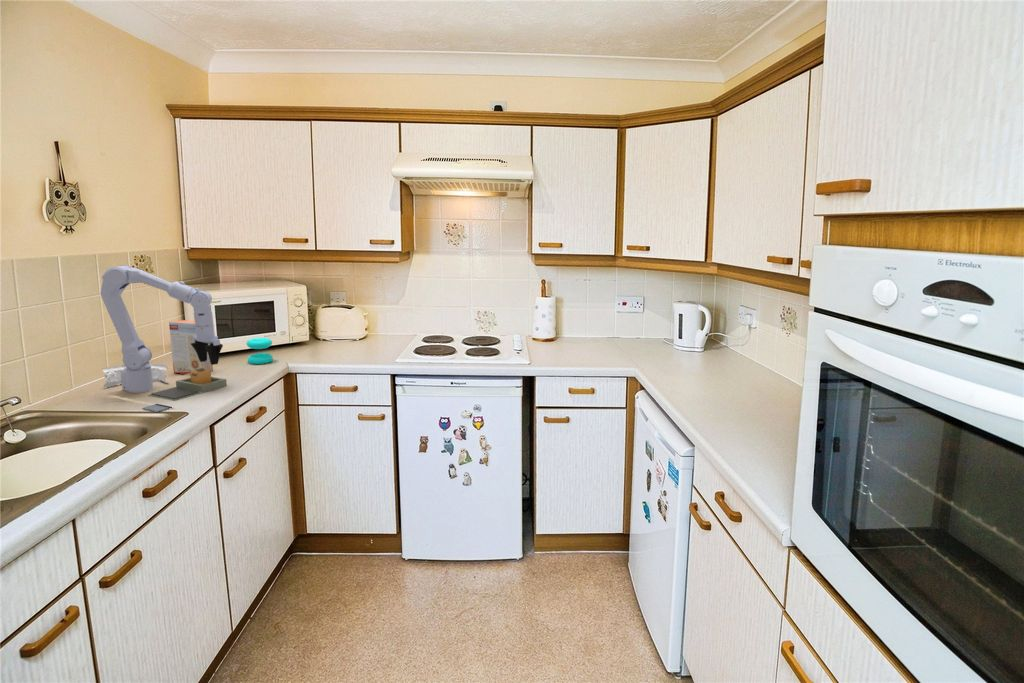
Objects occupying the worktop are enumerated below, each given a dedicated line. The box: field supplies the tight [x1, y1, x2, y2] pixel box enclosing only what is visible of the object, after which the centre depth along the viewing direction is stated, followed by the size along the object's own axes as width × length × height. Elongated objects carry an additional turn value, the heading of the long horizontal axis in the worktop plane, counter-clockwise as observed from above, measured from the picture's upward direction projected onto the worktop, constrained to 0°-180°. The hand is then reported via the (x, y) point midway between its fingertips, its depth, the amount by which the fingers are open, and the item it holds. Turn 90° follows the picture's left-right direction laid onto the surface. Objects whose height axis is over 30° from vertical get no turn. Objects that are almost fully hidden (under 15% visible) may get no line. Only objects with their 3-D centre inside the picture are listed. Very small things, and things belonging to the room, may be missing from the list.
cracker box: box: [168, 319, 214, 375], centre depth 225 cm, size 14×6×21 cm, turn 74°
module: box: [189, 368, 212, 385], centre depth 205 cm, size 4×5×7 cm
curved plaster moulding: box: [101, 363, 169, 389], centre depth 208 cm, size 11×20×8 cm, turn 123°
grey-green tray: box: [148, 376, 228, 402], centre depth 201 cm, size 13×20×4 cm, turn 157°
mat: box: [141, 403, 173, 413], centre depth 185 cm, size 7×8×1 cm
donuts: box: [246, 337, 274, 365], centre depth 246 cm, size 10×10×10 cm
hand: (209, 362), depth 205 cm, fingers open, 7 cm apart
